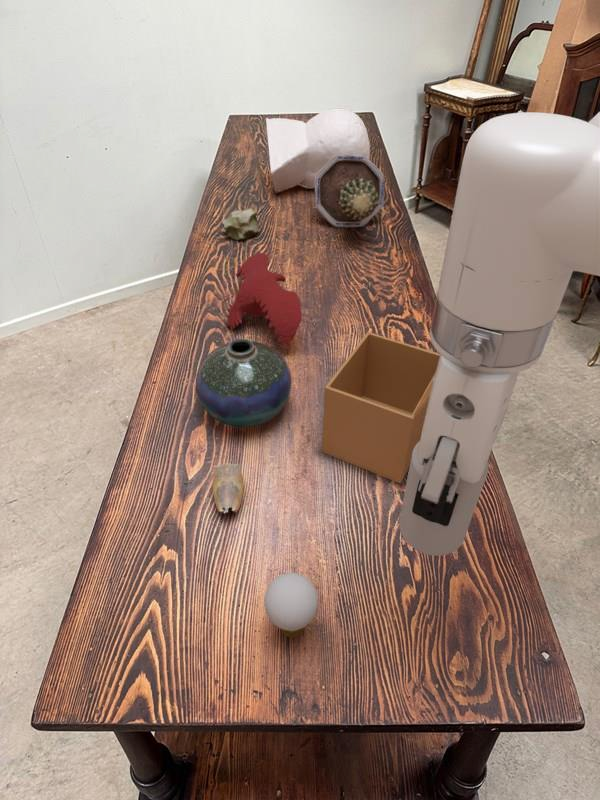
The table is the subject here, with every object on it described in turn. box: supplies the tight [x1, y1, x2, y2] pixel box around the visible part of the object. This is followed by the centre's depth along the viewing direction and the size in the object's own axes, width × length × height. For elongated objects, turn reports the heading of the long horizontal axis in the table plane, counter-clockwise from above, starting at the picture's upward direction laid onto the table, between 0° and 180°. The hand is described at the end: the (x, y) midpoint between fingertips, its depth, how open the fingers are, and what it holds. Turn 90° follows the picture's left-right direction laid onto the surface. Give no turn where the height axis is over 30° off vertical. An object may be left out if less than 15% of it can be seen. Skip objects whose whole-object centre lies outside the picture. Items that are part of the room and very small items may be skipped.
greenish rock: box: [221, 207, 263, 241], centre depth 136 cm, size 9×9×8 cm
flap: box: [414, 380, 433, 416], centre depth 72 cm, size 6×15×1 cm
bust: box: [265, 107, 371, 194], centre depth 154 cm, size 30×22×24 cm
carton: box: [321, 331, 440, 484], centre depth 82 cm, size 13×15×14 cm
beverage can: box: [398, 441, 489, 557], centre depth 49 cm, size 6×6×12 cm
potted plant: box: [314, 154, 385, 229], centre depth 135 cm, size 18×18×30 cm
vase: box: [195, 338, 293, 429], centre depth 86 cm, size 15×15×13 cm
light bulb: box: [263, 572, 319, 639], centre depth 60 cm, size 6×6×10 cm
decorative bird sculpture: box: [226, 252, 303, 346], centre depth 107 cm, size 28×9×15 cm
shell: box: [212, 462, 244, 515], centre depth 76 cm, size 8×4×5 cm, turn 14°
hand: (443, 486), depth 48 cm, fingers closed on beverage can, 6 cm apart
